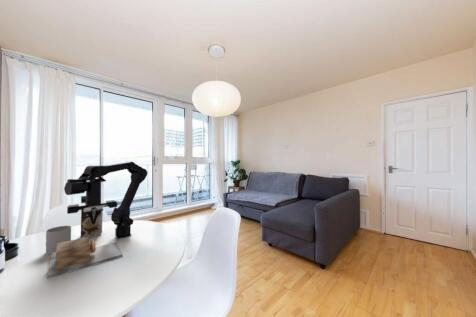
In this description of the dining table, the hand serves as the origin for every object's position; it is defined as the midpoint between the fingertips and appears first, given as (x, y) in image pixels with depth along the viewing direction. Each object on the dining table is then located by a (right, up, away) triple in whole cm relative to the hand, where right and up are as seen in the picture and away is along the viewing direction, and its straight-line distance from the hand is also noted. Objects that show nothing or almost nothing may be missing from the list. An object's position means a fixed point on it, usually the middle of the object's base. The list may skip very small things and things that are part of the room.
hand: (93, 224), depth 91 cm
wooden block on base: (+6, -11, -11) cm, 16 cm away
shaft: (+2, -9, -13) cm, 16 cm away
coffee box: (-12, -11, +15) cm, 22 cm away
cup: (-13, -11, -3) cm, 18 cm away
